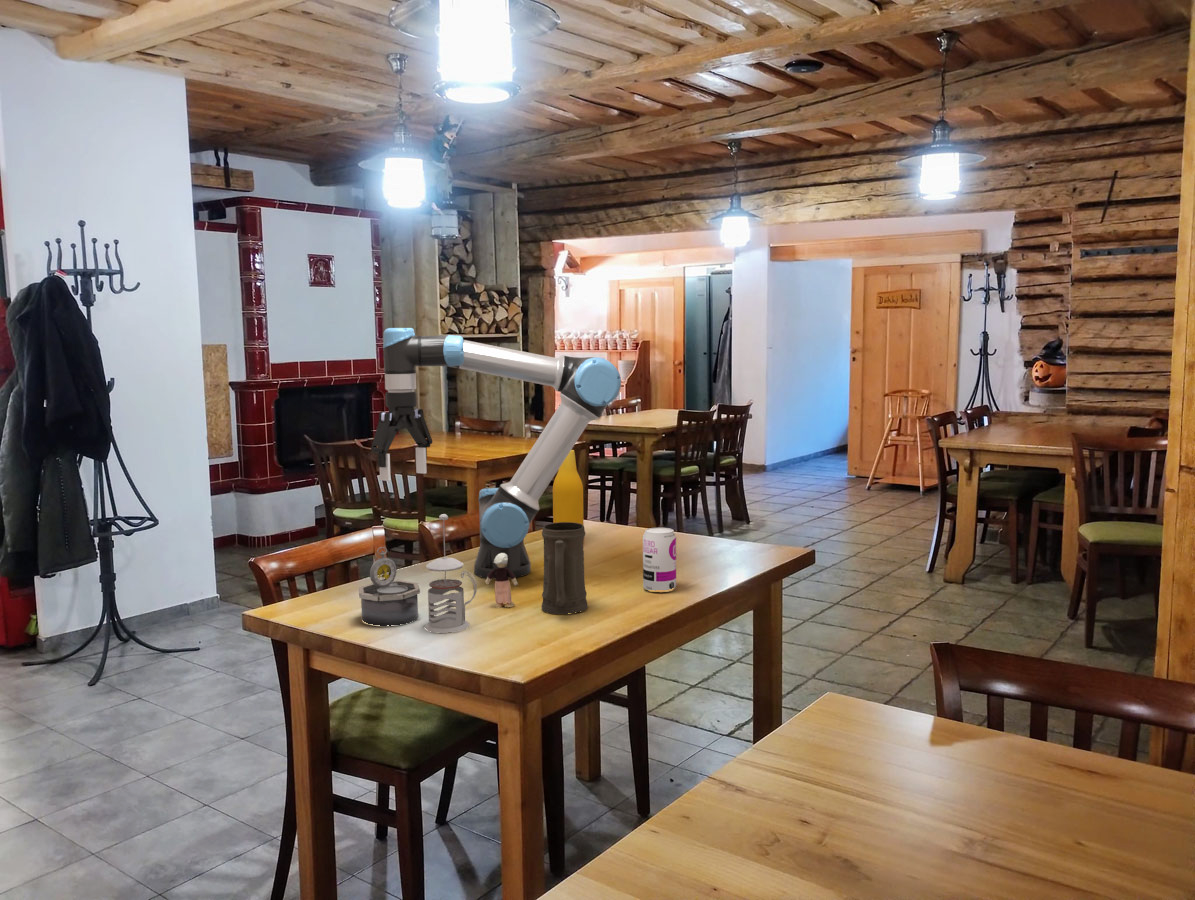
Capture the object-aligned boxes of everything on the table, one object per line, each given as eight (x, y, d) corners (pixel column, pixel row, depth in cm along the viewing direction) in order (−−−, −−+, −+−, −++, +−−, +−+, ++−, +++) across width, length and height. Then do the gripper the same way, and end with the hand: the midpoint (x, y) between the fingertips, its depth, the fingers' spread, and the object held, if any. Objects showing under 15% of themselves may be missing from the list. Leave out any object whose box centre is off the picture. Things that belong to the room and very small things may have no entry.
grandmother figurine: (519, 603, 226) (517, 551, 225) (518, 608, 223) (516, 554, 221) (486, 604, 226) (485, 551, 225) (485, 608, 222) (483, 555, 221)
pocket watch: (400, 598, 210) (398, 553, 209) (365, 596, 212) (363, 552, 211) (414, 588, 218) (413, 545, 217) (380, 586, 220) (378, 544, 219)
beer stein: (540, 601, 227) (539, 520, 224) (585, 600, 228) (584, 519, 225) (542, 625, 212) (541, 538, 209) (590, 623, 213) (589, 537, 210)
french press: (430, 619, 215) (427, 509, 212) (481, 620, 213) (478, 510, 211) (418, 632, 205) (414, 518, 202) (471, 633, 204) (468, 518, 201)
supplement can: (679, 586, 240) (679, 528, 238) (671, 595, 232) (671, 534, 230) (648, 584, 243) (648, 526, 241) (639, 592, 235) (638, 532, 233)
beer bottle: (583, 549, 284) (582, 452, 280) (552, 549, 284) (550, 452, 280) (584, 542, 293) (583, 448, 289) (554, 542, 293) (552, 448, 290)
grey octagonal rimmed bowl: (417, 608, 224) (416, 578, 223) (422, 624, 211) (421, 593, 210) (359, 613, 220) (357, 583, 219) (361, 629, 207) (360, 598, 206)
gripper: (421, 388, 247) (424, 469, 249) (353, 393, 225) (357, 482, 228) (444, 388, 243) (447, 471, 246) (377, 394, 221) (381, 484, 224)
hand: (403, 476), depth 237 cm, fingers open, 13 cm apart
